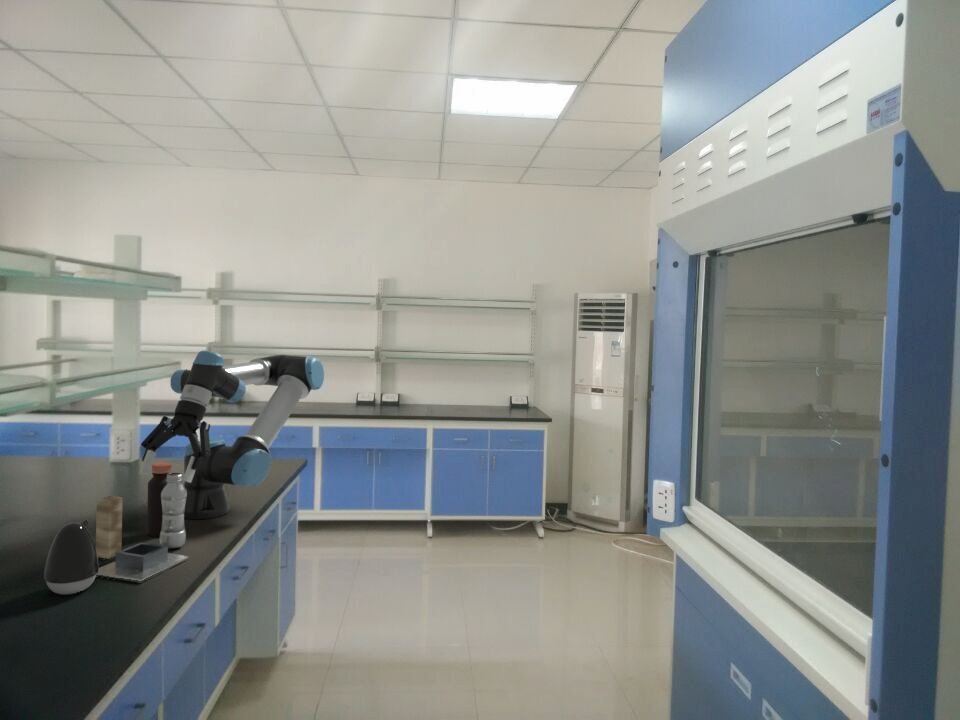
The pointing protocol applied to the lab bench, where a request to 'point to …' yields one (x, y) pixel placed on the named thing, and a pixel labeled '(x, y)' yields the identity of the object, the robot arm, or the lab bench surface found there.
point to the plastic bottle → (173, 512)
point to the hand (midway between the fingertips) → (164, 478)
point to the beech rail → (108, 526)
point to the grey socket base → (140, 562)
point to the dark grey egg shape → (71, 560)
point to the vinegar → (156, 497)
